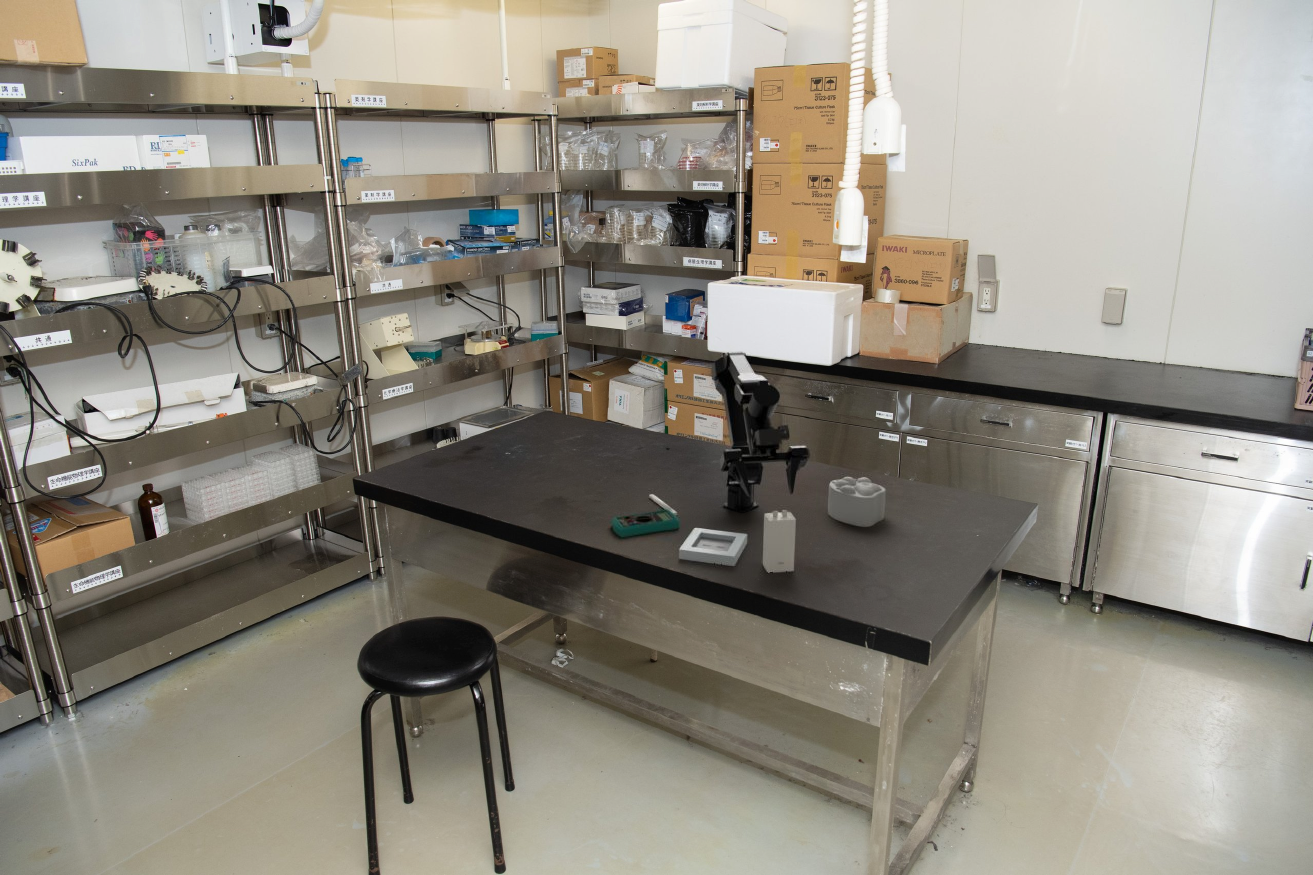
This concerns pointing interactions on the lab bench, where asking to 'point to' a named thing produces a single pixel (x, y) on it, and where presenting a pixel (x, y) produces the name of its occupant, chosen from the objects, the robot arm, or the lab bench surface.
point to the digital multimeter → (645, 523)
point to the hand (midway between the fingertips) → (770, 494)
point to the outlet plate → (713, 546)
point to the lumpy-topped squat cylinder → (856, 501)
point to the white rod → (662, 504)
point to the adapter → (779, 541)
